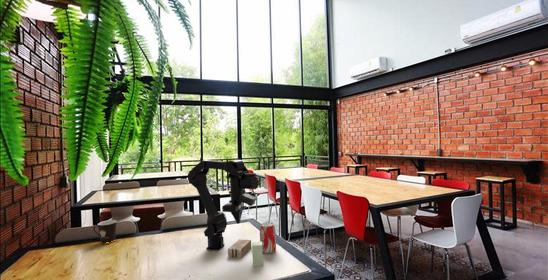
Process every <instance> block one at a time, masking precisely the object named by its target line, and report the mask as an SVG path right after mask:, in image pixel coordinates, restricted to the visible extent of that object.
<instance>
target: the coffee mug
mask: <svg viewBox="0 0 548 280" xmlns="http://www.w3.org/2000/svg"><path fill="white" fill-rule="evenodd" d="M117 223H118V222H117V220H106V221H101V222H99V223H97V225H96V224H95V225H93V229H92V230H93V232H94V233H95V234H96V235H98V236H99V238H100V240H99V241H100V243H101V242H102V243H106V242H111V241H113V240H115V241H116V235H117V234H116V233H117ZM96 227H97V228H98V232H97V230H96V229H95V228H96Z"/></svg>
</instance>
